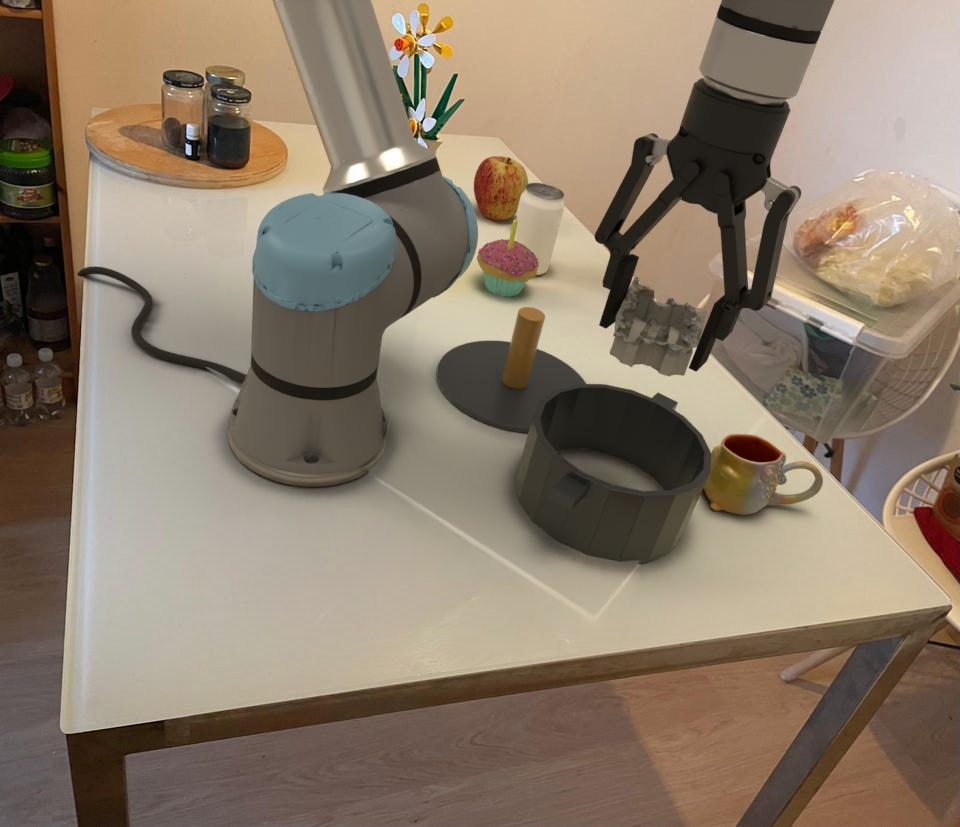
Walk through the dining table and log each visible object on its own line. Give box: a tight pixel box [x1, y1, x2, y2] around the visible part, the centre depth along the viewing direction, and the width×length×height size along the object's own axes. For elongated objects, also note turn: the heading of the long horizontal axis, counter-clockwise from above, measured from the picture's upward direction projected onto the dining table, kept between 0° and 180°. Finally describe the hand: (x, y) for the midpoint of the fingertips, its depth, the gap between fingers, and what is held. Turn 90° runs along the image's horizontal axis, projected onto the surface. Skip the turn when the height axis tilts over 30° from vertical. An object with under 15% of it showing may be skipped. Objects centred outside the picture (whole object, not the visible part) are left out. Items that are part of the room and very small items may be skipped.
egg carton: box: [609, 276, 707, 377], centre depth 76 cm, size 11×8×4 cm
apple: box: [473, 155, 529, 222], centre depth 137 cm, size 9×9×10 cm
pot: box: [514, 383, 712, 565], centre depth 82 cm, size 17×22×8 cm
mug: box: [703, 433, 824, 516], centre depth 87 cm, size 12×7×7 cm, turn 84°
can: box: [514, 182, 565, 277], centre depth 123 cm, size 6×6×12 cm
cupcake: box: [476, 214, 539, 297], centre depth 115 cm, size 9×8×12 cm
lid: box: [436, 306, 587, 434], centre depth 95 cm, size 18×18×10 cm
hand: (652, 342), depth 77 cm, fingers closed on egg carton, 8 cm apart
